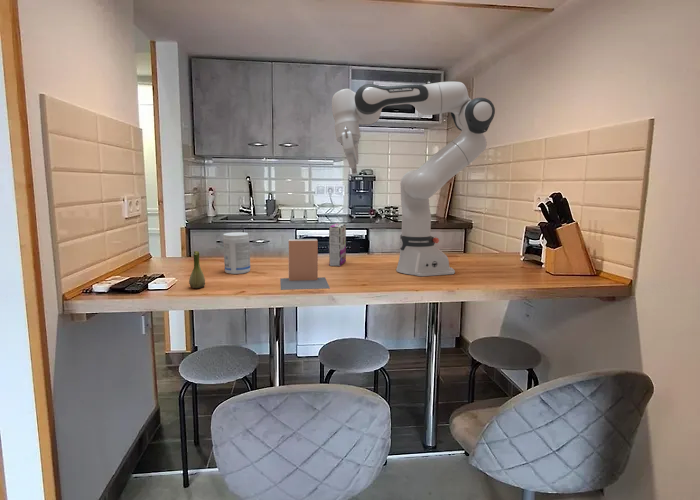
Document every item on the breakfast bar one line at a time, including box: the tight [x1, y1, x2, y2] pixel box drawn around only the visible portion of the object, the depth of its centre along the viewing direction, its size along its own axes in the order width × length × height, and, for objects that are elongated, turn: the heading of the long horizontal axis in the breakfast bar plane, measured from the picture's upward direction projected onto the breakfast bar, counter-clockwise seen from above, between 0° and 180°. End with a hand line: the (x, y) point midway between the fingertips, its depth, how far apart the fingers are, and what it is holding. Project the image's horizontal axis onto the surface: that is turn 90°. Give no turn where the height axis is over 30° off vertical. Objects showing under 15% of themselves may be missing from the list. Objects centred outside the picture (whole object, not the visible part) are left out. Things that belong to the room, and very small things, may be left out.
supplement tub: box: [222, 231, 251, 275], centre depth 173 cm, size 10×10×15 cm
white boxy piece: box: [287, 238, 319, 281], centre depth 161 cm, size 10×4×14 cm, turn 99°
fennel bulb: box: [188, 250, 206, 289], centre depth 149 cm, size 6×5×12 cm
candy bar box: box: [328, 223, 347, 267], centre depth 190 cm, size 11×5×16 cm, turn 168°
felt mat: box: [279, 276, 331, 291], centre depth 156 cm, size 16×16×1 cm
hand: (353, 170), depth 166 cm, fingers open, 8 cm apart
